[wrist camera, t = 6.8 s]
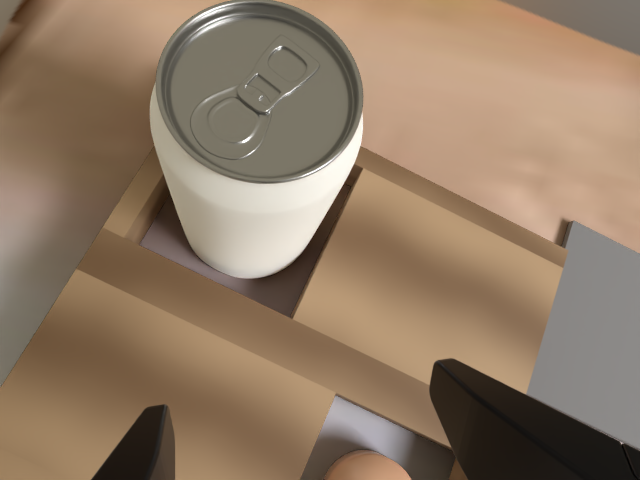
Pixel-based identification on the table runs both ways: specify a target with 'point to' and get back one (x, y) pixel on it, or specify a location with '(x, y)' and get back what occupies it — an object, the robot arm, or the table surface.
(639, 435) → the mat
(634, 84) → the table surface
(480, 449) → the robot arm
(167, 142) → the can
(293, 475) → the puzzle board
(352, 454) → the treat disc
